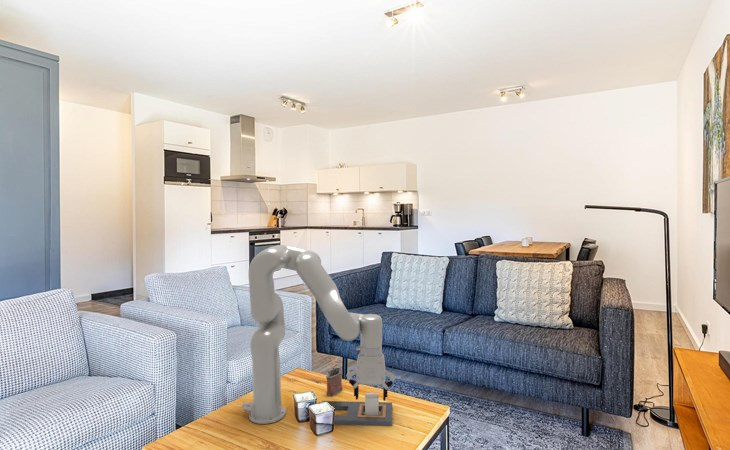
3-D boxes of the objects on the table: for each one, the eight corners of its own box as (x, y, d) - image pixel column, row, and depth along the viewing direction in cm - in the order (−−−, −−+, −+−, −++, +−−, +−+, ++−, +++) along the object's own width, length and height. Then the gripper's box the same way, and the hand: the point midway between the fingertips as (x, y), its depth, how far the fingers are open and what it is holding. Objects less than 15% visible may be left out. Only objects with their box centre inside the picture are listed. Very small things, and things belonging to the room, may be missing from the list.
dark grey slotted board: (315, 424, 141) (315, 419, 141) (322, 404, 155) (322, 400, 155) (392, 425, 139) (392, 420, 139) (392, 406, 153) (392, 401, 153)
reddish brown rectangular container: (337, 387, 170) (337, 363, 169) (344, 389, 168) (343, 365, 167) (324, 395, 163) (324, 369, 163) (331, 397, 161) (330, 371, 161)
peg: (365, 418, 144) (364, 398, 144) (366, 412, 149) (365, 392, 149) (378, 418, 144) (377, 398, 144) (378, 412, 148) (378, 393, 148)
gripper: (345, 353, 143) (345, 402, 143) (395, 354, 141) (395, 404, 142) (347, 346, 150) (347, 393, 151) (395, 347, 149) (395, 394, 149)
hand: (370, 398), depth 146 cm, fingers open, 9 cm apart
